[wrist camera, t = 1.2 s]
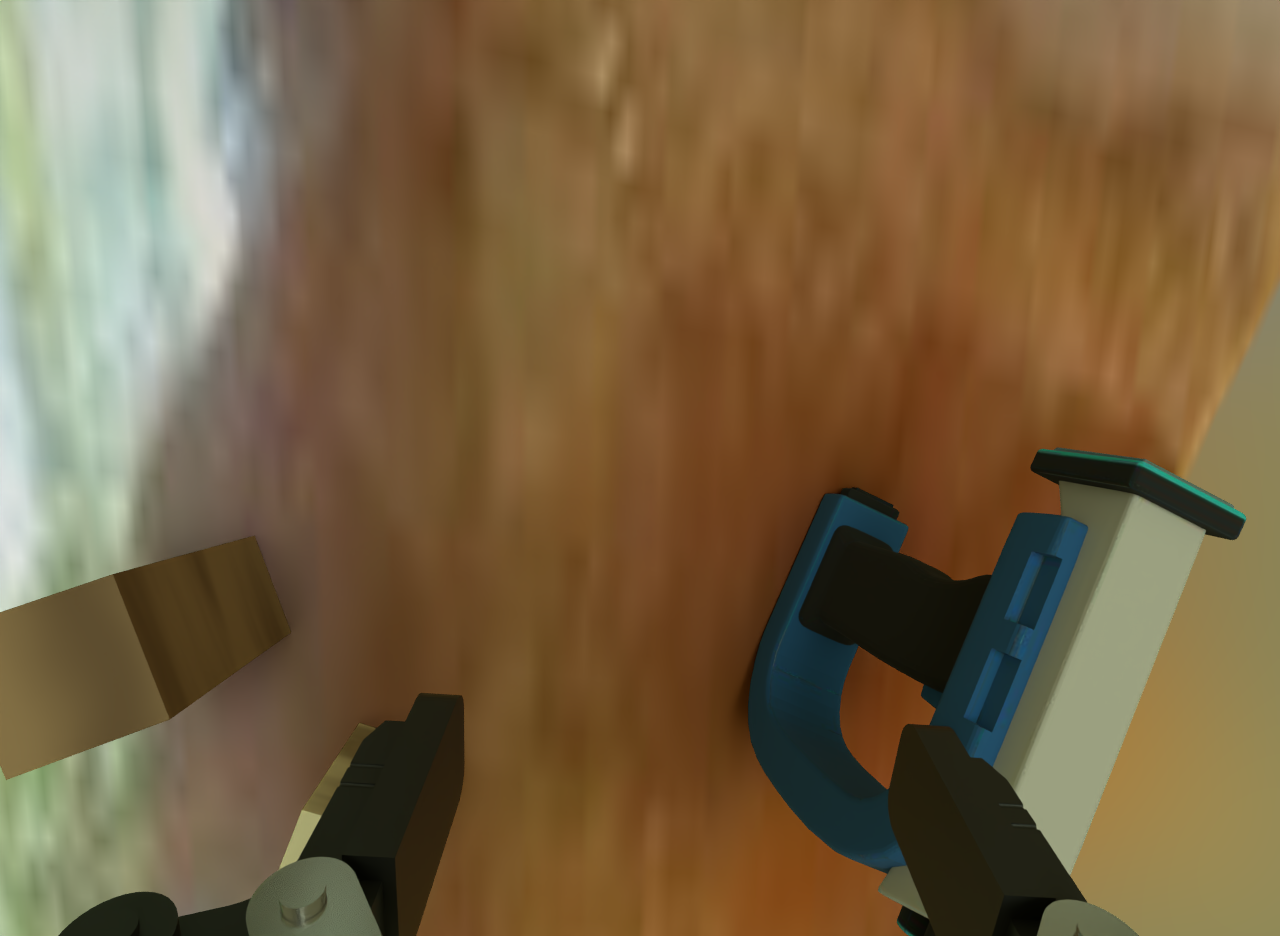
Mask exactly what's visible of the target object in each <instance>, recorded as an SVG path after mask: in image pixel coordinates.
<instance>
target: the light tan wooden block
mask: <svg viewBox="0 0 1280 936" xmlns="http://www.w3.org/2000/svg"><path fill="white" fill-rule="evenodd" d="M289 633H291V631H290V628H289V625H288V623H287V620H286V617H285V615H284V612H283V609H282V607H281V604H280V602H279V599H278V596H277V594H276V591H275V588H274V586H273V583H272V581H271V578H270V575H269V573H268V570H267V567H266V565H265V562H264V559H263V557H262V554H261V552H260V549H259V546H258V544H257V541H256V538H255V536H252V537H248V538H244V539H241V540H237V541H233V542H230V543H226V544H222V545H219V546H215V547H211V548H208V549H204V550H200V551H197V552H193V553H189V554H186V555H182V556H178V557H174V558H171V559H167V560H163V561H160V562H156V563H152V564H149V565H145V566H141V567H138V568H134V569H130V570H127V571H123V572H119V573H116V574H112V575H109V576H106V577H103V578H100V579H97V580H94V581H92V582H89V583H86V584H83V585H80V586H77V587H74V588H71V589H68V590H65V591H62V592H59V593H56V594H53V595H50V596H47V597H44V598H41V599H38V600H35V601H32V602H30V603H27V604H24V605H21V606H18V607H15V608H12V609H9V610H6V611H3V612H0V766H1V768H2V771H3V773H4V776H5V778H6V780H7V779H10V778H12V777H15V776H18V775H21V774H23V773H26V772H29V771H31V770H34V769H37V768H40V767H42V766H45V765H48V764H50V763H53V762H56V761H58V760H61V759H64V758H67V757H69V756H72V755H75V754H77V753H80V752H83V751H86V750H88V749H91V748H94V747H96V746H99V745H102V744H105V743H107V742H110V741H113V740H115V739H118V738H121V737H123V736H126V735H129V734H132V733H134V732H137V731H140V730H142V729H145V728H148V727H151V726H153V725H156V724H159V723H161V722H164V721H167V720H170V719H171V718H172V717H174V716H175V715H177V714H178V713H179V712H181V711H182V710H184V709H185V708H186V707H188V706H189V705H191V704H192V703H193V702H195V701H196V700H197V699H199V698H200V697H202V696H203V695H204V694H206V693H207V692H209V691H210V690H211V689H213V688H214V687H216V686H217V685H218V684H220V683H221V682H223V681H224V680H225V679H227V678H228V677H230V676H231V675H232V674H234V673H235V672H236V671H238V670H239V669H241V668H242V667H243V666H245V665H246V664H248V663H249V662H250V661H252V660H253V659H255V658H256V657H257V656H259V655H260V654H262V653H263V652H264V651H266V650H267V649H269V648H270V647H271V646H273V645H274V644H276V643H277V642H278V641H280V640H281V639H282V638H284V637H285V636H287V635H288V634H289Z"/></svg>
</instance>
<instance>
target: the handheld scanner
mask: <svg viewBox="0 0 1280 936" xmlns="http://www.w3.org/2000/svg"><path fill="white" fill-rule="evenodd" d="M1030 468H1031V471H1033V472H1034V473H1036V474H1038V475H1040V476H1042V477H1044V478H1046V479H1048V480H1050V481H1052V482H1054V483H1056V484H1058V485H1059V488H1060V502H1061V515H1053V514H1042V513H1020V514H1018V516H1017V518H1016V520H1015V523H1014V525H1013V527H1012V529H1011V532H1010V534H1009V536H1008V538H1007V541H1006V543H1005V545H1004V548H1003V550H1002V552H1001V555H1000V557H999V559H998V562H997V564H996V567H995V569H994V571H993V574H992V575H983V576H978V577H975V578H972V579H968V580H960V581H954V580H952V579H951V578H950V577H949V576H948V575H946V574H945V573H943V572H941V571H939V570H937V569H935V568H933V567H931V566H929V565H927V564H925V563H923V562H921V561H919V560H916V559H914V558H912V557H910V556H906V555H903V554H900V553H898V552H899V550H900V548H901V545H902V543H903V541H904V538H905V536H906V534H907V531H908V526H907V525H905V524H904V523H901V522H899V521H897V520H896V519H897V517H898V515H899V511H898V510H896V509H894V508H893V505H892V504H890V503H888V502H886V501H884V500H882V499H880V498H878V497H876V496H874V495H871V494H869V493H867V492H865V491H863V490H861V489H859V488H854V487H852V488H843V489H842V491H841V494H825V495H824V497H823V499H822V501H821V504H820V506H819V508H818V511H817V513H816V515H815V517H814V520H813V522H812V524H811V526H810V529H809V531H808V533H807V535H806V538H805V540H804V542H803V544H802V547H801V549H800V551H799V554H798V556H797V558H796V560H795V563H794V565H793V567H792V569H791V572H790V574H789V576H788V578H787V581H786V583H785V585H784V588H783V590H782V592H781V594H780V597H779V599H778V601H777V603H776V606H775V608H774V610H773V612H772V615H771V617H770V619H769V621H768V624H767V626H766V628H765V631H764V634H763V636H762V639H761V642H760V645H759V649H758V652H757V656H756V660H755V664H754V668H753V673H752V678H751V683H750V692H749V701H748V725H749V731H750V737H751V743H752V746H753V748H754V751H755V754H756V757H757V759H758V761H759V763H760V765H761V766H762V768H763V770H764V772H765V774H766V775H767V777H768V778H769V780H770V781H771V782H772V784H773V785H774V787H775V788H776V790H777V791H778V793H779V794H780V795H781V797H782V798H783V799H784V801H785V802H786V803H787V805H788V806H789V807H790V808H791V809H792V811H793V812H794V813H795V814H796V815H797V816H798V817H799V819H800V820H801V821H802V822H803V823H804V824H805V825H806V826H807V828H808V829H809V830H811V831H812V832H813V833H814V834H815V835H816V836H818V837H819V838H820V839H821V840H822V841H823V842H825V843H826V844H827V845H828V846H829V847H830V848H832V849H833V850H834V851H836V852H837V853H839V854H841V855H843V856H845V857H848V858H850V859H852V860H854V861H857V862H859V863H862V864H864V865H867V866H869V867H872V868H874V869H877V870H879V871H882V872H884V873H887V875H886V877H885V879H884V880H883V882H882V883H881V885H880V886H879V889H878V891H879V892H880V893H881V894H883V895H884V896H886V897H888V898H890V899H892V900H894V901H895V902H897V903H899V904H901V905H903V906H902V909H901V911H900V914H899V916H898V919H897V924H898V925H899V927H900V928H901V929H902V930H903V931H904V932H905V933H906V934H907V935H909V936H935V933H934V931H933V928H932V926H931V923H930V921H929V918H928V916H927V913H926V911H925V909H924V906H923V904H922V901H921V899H920V896H919V894H918V891H917V889H916V887H915V884H914V882H913V879H912V877H911V874H910V872H909V869H908V867H907V865H906V862H905V860H904V857H903V855H902V852H901V850H900V847H899V845H898V843H897V840H896V838H895V835H894V833H893V830H892V827H891V824H890V819H889V812H888V793H889V789H886V788H884V787H883V786H882V785H881V784H880V783H879V782H878V781H877V780H876V779H875V778H874V777H873V776H871V775H870V774H869V773H868V772H867V771H866V770H865V769H864V768H863V767H862V766H861V765H860V764H859V763H858V761H857V760H856V759H855V758H854V757H853V756H852V754H851V753H850V751H849V750H848V748H847V747H846V744H845V742H844V740H843V737H842V732H841V728H840V714H839V711H840V702H841V694H842V690H843V685H844V681H845V678H846V675H847V673H848V670H849V667H850V665H851V662H852V660H853V658H854V655H855V653H856V651H857V648H858V646H860V647H862V648H863V649H865V650H866V651H868V652H869V653H871V654H872V655H874V656H875V657H877V658H878V659H880V660H882V661H883V662H885V663H887V664H888V665H890V666H892V667H893V668H895V669H897V670H898V671H900V672H902V673H904V674H906V675H908V676H909V677H911V678H913V679H915V680H917V681H919V682H921V683H922V684H924V686H923V689H922V693H921V696H922V698H924V699H925V700H926V701H927V702H928V703H930V704H931V705H932V706H933V707H934V708H936V711H935V713H934V715H933V718H932V720H931V723H930V725H932V726H948V727H950V728H952V729H953V730H954V731H955V733H956V734H957V736H958V738H959V739H960V741H961V743H962V744H963V746H964V748H965V749H966V751H967V752H968V754H969V756H970V757H973V758H983V759H984V760H985V761H986V762H987V763H988V764H990V765H991V766H992V767H993V768H994V769H995V770H997V771H998V772H999V773H1000V774H1001V775H1002V776H1003V777H1005V778H1006V779H1007V780H1008V782H1009V783H1010V785H1011V786H1012V788H1013V789H1014V791H1015V792H1016V794H1017V795H1018V797H1019V798H1020V800H1021V802H1022V803H1023V808H1024V809H1027V811H1028V812H1029V814H1030V815H1031V817H1032V818H1033V820H1034V821H1035V823H1036V827H1037V830H1040V831H1041V832H1042V834H1043V835H1044V837H1045V838H1046V840H1047V841H1048V843H1049V844H1050V846H1051V848H1052V849H1053V851H1054V852H1055V854H1056V855H1057V857H1058V858H1059V860H1060V861H1061V863H1062V864H1063V866H1064V867H1065V869H1066V871H1067V872H1068V874H1069V875H1071V872H1072V870H1073V867H1074V864H1075V862H1076V859H1077V857H1078V855H1079V852H1080V849H1081V847H1082V845H1083V842H1084V839H1085V837H1086V834H1087V832H1088V829H1089V827H1090V824H1091V822H1092V819H1093V817H1094V814H1095V812H1096V809H1097V806H1098V804H1099V801H1100V799H1101V796H1102V794H1103V791H1104V789H1105V786H1106V784H1107V781H1108V779H1109V776H1110V773H1111V771H1112V768H1113V766H1114V763H1115V761H1116V758H1117V756H1118V753H1119V751H1120V748H1121V746H1122V743H1123V740H1124V738H1125V736H1126V733H1127V730H1128V728H1129V725H1130V723H1131V720H1132V718H1133V715H1134V712H1135V710H1136V708H1137V705H1138V702H1139V700H1140V698H1141V695H1142V692H1143V690H1144V687H1145V685H1146V682H1147V680H1148V677H1149V675H1150V672H1151V670H1152V667H1153V664H1154V662H1155V659H1156V657H1157V654H1158V652H1159V649H1160V647H1161V644H1162V642H1163V639H1164V636H1165V634H1166V632H1167V629H1168V627H1169V624H1170V621H1171V619H1172V616H1173V614H1174V611H1175V609H1176V606H1177V604H1178V601H1179V599H1180V596H1181V593H1182V591H1183V589H1184V586H1185V583H1186V581H1187V578H1188V576H1189V573H1190V571H1191V568H1192V566H1193V563H1194V560H1195V558H1196V556H1197V553H1198V550H1199V548H1200V545H1201V543H1202V540H1203V538H1204V535H1205V534H1206V535H1211V536H1216V537H1220V538H1224V539H1229V540H1235V539H1237V537H1238V536H1239V534H1240V532H1241V530H1242V528H1243V525H1244V523H1245V521H1246V516H1245V515H1244V514H1243V513H1241V512H1239V511H1237V510H1236V509H1234V506H1233V505H1232V504H1230V503H1228V502H1226V501H1224V500H1222V499H1220V498H1218V497H1216V496H1215V495H1213V494H1211V493H1209V492H1207V491H1205V490H1203V489H1201V488H1199V487H1197V486H1195V485H1193V484H1192V483H1190V482H1188V481H1186V480H1184V479H1182V478H1180V477H1178V476H1176V475H1174V474H1173V473H1171V472H1169V471H1167V470H1165V469H1163V468H1161V467H1159V466H1157V465H1155V464H1153V463H1152V462H1150V461H1148V460H1146V459H1139V458H1132V457H1124V456H1117V455H1109V454H1102V453H1095V452H1087V451H1080V450H1072V449H1065V448H1056V449H1054V450H1046V449H1040V450H1038V452H1037V454H1036V456H1035V458H1034V460H1033V462H1032V464H1031V467H1030Z"/></svg>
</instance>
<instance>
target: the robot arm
mask: <svg viewBox="0 0 1280 936" xmlns="http://www.w3.org/2000/svg"><path fill="white" fill-rule="evenodd" d="M463 777H464V703H463V697H462V696H461V695H446V694H429V693H420V694H419V695H418V697H417V698H416V700H415V703H414V705H413V707H412V709H411V711H410V713H409V715H408V717H407V719H406V721H405V722H401V721H385V722H383V723H382V724H381V725H380V726H379V727H378V728H376V729H375V730H374V731H373V732H372V733H370V734H369V735H368V736H367V737H366V738H365V739H363V741H362V743H361V744H360V746H359V748H358V750H357V752H356V754H355V755H354V757H353V759H352V761H351V764H350V767H348V768H347V770H346V772H345V774H344V776H343V777H342V779H341V781H340V786H339V787H337V788H336V790H335V792H334V794H333V796H332V798H331V799H330V801H329V803H328V805H327V807H326V809H325V811H324V812H323V814H322V816H321V818H320V820H319V822H318V823H317V825H316V827H315V829H314V831H313V833H312V834H311V836H310V838H309V840H308V842H307V844H306V845H305V847H304V849H303V851H302V853H301V855H300V856H299V858H298V860H297V861H296V862H294V863H291V864H289V865H287V866H285V867H283V868H281V869H280V870H278V871H276V872H275V873H273V874H272V875H271V876H270V877H268V878H267V879H266V880H265V881H264V882H263V883H262V884H261V885H260V886H259V887H258V889H257V890H256V891H255V893H254V894H253V896H252V898H250V899H248V900H245V901H243V902H240V903H237V904H233V905H229V906H225V907H221V908H216V909H212V910H207V911H203V912H198V913H194V914H189V915H185V916H180V917H178V913H177V908H176V906H175V905H174V903H173V902H172V901H171V900H170V899H169V898H168V897H166V896H164V895H162V894H158V893H155V892H135V893H130V894H125V895H121V896H118V897H115V898H112V899H110V900H107V901H105V902H103V903H101V904H99V905H97V906H95V907H93V908H91V909H90V910H88V911H87V912H85V913H84V914H82V915H81V916H79V917H78V918H77V919H75V920H74V921H73V922H72V923H71V924H69V925H68V926H67V927H66V928H65V929H64V930H63V931H62V932H61V933H60V935H59V936H416V934H417V931H418V928H419V925H420V922H421V919H422V916H423V913H424V909H425V906H426V903H427V900H428V897H429V894H430V891H431V888H432V884H433V881H434V878H435V875H436V872H437V869H438V866H439V863H440V859H441V856H442V853H443V850H444V847H445V844H446V841H447V838H448V834H449V831H450V828H451V825H452V822H453V819H454V816H455V813H456V810H457V806H458V803H459V800H460V795H461V790H462V785H463ZM888 812H889V819H890V824H891V827H892V830H893V833H894V835H895V838H896V840H897V843H898V845H899V847H900V850H901V852H902V855H903V857H904V860H905V862H906V865H907V867H908V869H909V872H910V874H911V877H912V879H913V882H914V884H915V887H916V889H917V891H918V894H919V896H920V899H921V901H922V904H923V906H924V909H925V911H926V913H927V916H928V918H929V921H930V923H931V926H932V928H933V931H934V933H935V936H1139V935H1138V934H1137V933H1136V932H1134V931H1133V930H1132V929H1131V928H1130V927H1129V926H1128V925H1127V924H1125V923H1124V922H1123V921H1121V920H1120V919H1119V918H1117V917H1116V916H1114V915H1113V914H1111V913H1109V912H1107V911H1106V910H1104V909H1101V908H1099V907H1097V906H1095V905H1092V904H1089V903H1087V901H1086V900H1085V898H1084V897H1083V895H1082V894H1081V892H1080V891H1079V889H1078V888H1077V886H1076V884H1075V883H1074V881H1073V880H1072V878H1071V877H1070V875H1069V874H1068V872H1067V871H1066V869H1065V867H1064V866H1063V864H1062V863H1061V861H1060V860H1059V858H1058V857H1057V855H1056V854H1055V852H1054V851H1053V849H1052V848H1051V846H1050V844H1049V843H1048V841H1047V840H1046V838H1045V837H1044V835H1043V834H1042V832H1041V831H1040V830H1037V827H1036V823H1035V821H1034V820H1033V818H1032V817H1031V815H1030V814H1029V812H1028V811H1027V809H1024V808H1023V803H1022V802H1021V800H1020V798H1019V797H1018V795H1017V794H1016V792H1015V791H1014V789H1013V788H1012V786H1011V785H1010V783H1009V782H1008V780H1007V779H1006V778H1005V777H1003V776H1002V775H1001V774H1000V773H999V772H998V771H997V770H995V769H994V768H993V767H992V766H991V765H990V764H988V763H987V762H986V761H985V760H984V759H983V758H973V757H970V756H969V754H968V752H967V751H966V749H965V748H964V746H963V744H962V743H961V741H960V739H959V738H958V736H957V734H956V733H955V731H954V730H953V729H952V728H950V727H948V726H932V725H916V724H907V725H906V726H905V727H904V728H903V731H902V734H901V738H900V742H899V747H898V751H897V756H896V760H895V765H894V769H893V774H892V778H891V783H890V787H889V793H888Z"/></svg>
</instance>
